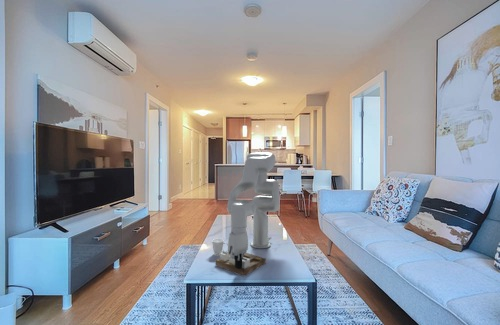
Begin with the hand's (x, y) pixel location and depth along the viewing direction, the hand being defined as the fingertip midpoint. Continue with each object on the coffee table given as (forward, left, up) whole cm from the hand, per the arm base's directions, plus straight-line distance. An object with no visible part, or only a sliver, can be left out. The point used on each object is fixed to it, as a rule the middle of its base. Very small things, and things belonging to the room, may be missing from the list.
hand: (238, 267), depth 118 cm
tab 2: (-4, 0, -1) cm, 5 cm away
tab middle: (-4, -6, -1) cm, 8 cm away
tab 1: (-4, -13, -2) cm, 14 cm away
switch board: (-9, -6, -3) cm, 12 cm away
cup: (-12, -24, -4) cm, 28 cm away
